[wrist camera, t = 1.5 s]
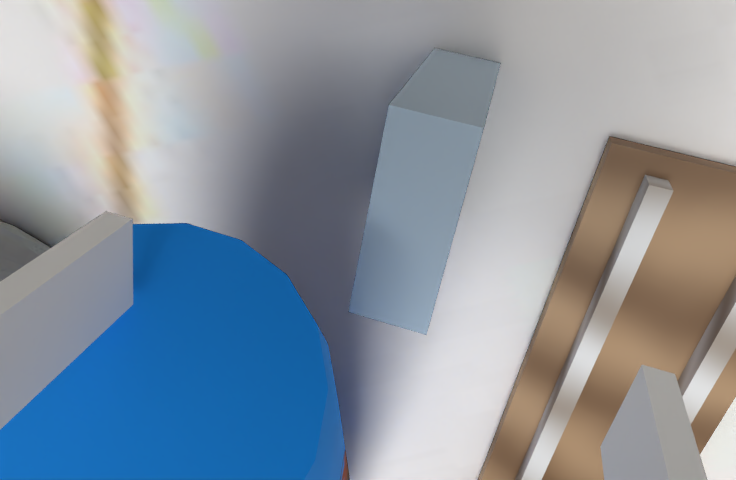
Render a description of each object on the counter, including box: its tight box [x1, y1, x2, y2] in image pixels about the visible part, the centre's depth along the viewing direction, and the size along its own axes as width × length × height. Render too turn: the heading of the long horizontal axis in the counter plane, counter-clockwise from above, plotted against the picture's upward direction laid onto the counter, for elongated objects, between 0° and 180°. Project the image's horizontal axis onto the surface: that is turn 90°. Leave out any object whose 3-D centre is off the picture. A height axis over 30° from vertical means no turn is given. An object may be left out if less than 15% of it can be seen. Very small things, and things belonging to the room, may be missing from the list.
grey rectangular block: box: [348, 48, 501, 335], centre depth 25 cm, size 8×3×10 cm, turn 169°
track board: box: [478, 136, 736, 480], centre depth 28 cm, size 26×10×12 cm, turn 170°
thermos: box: [0, 223, 350, 480], centre depth 27 cm, size 11×11×25 cm
